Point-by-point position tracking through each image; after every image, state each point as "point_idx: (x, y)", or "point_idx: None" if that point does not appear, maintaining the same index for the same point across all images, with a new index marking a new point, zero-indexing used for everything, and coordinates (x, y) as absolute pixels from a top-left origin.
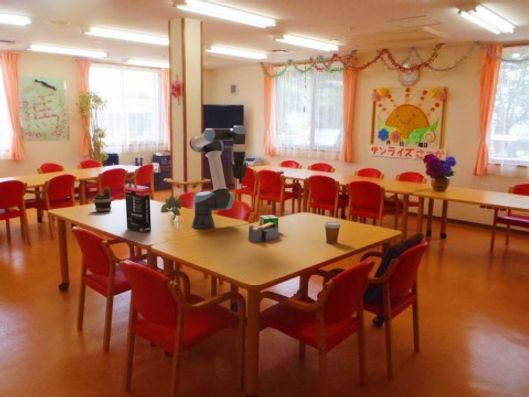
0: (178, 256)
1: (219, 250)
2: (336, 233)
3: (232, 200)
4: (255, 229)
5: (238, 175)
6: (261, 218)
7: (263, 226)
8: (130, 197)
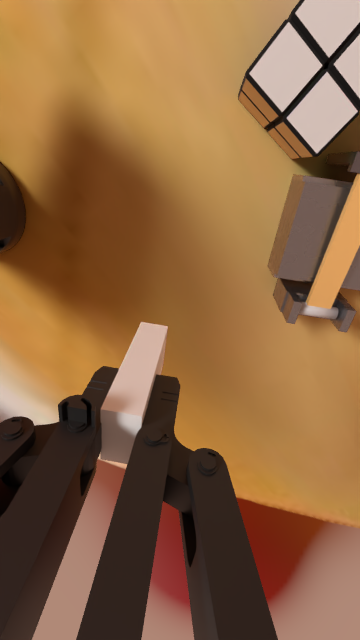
0: None
1: (240, 418)
2: None
3: None
4: (319, 316)
5: (67, 462)
6: (279, 117)
7: (344, 261)
8: None
